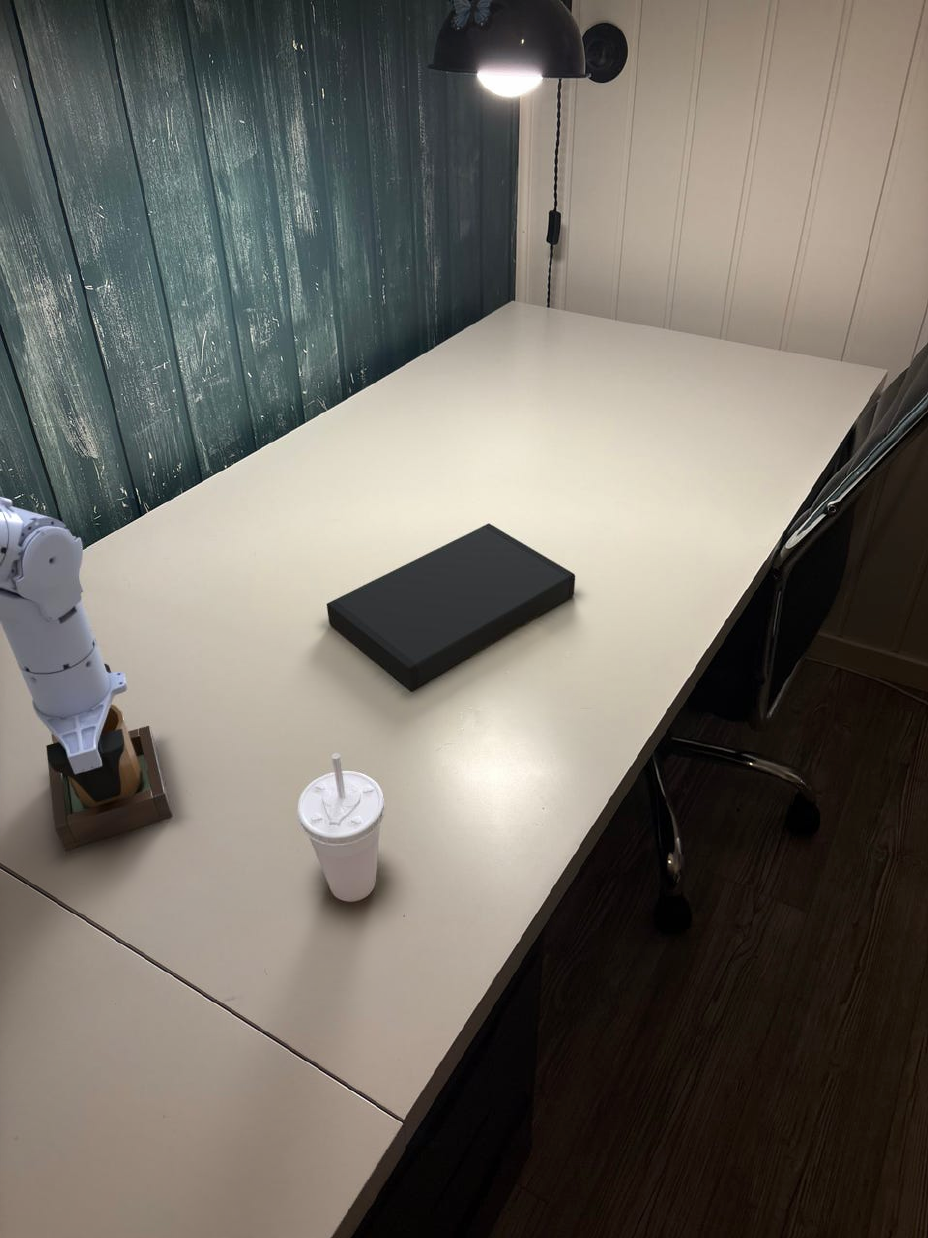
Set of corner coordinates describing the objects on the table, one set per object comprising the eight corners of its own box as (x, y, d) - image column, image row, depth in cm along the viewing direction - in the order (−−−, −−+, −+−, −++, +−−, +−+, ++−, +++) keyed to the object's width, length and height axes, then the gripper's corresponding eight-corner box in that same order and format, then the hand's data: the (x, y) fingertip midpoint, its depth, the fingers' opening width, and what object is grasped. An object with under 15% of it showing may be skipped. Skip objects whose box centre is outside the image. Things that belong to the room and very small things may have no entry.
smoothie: (398, 851, 75) (386, 732, 67) (385, 920, 70) (371, 800, 62) (322, 846, 76) (300, 726, 67) (303, 913, 71) (278, 794, 62)
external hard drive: (329, 624, 99) (326, 602, 97) (488, 543, 110) (488, 522, 109) (411, 691, 90) (410, 669, 88) (574, 596, 102) (575, 574, 100)
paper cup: (78, 817, 77) (54, 759, 72) (72, 770, 81) (49, 713, 76) (147, 795, 78) (127, 738, 74) (138, 751, 82) (118, 694, 78)
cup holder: (65, 851, 76) (54, 828, 74) (57, 777, 82) (46, 754, 80) (172, 816, 79) (165, 793, 77) (156, 748, 85) (149, 725, 83)
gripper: (122, 694, 66) (164, 816, 74) (100, 584, 76) (139, 702, 85) (18, 723, 64) (73, 845, 72) (9, 606, 74) (59, 725, 83)
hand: (103, 770), depth 78 cm, fingers closed on paper cup, 6 cm apart
